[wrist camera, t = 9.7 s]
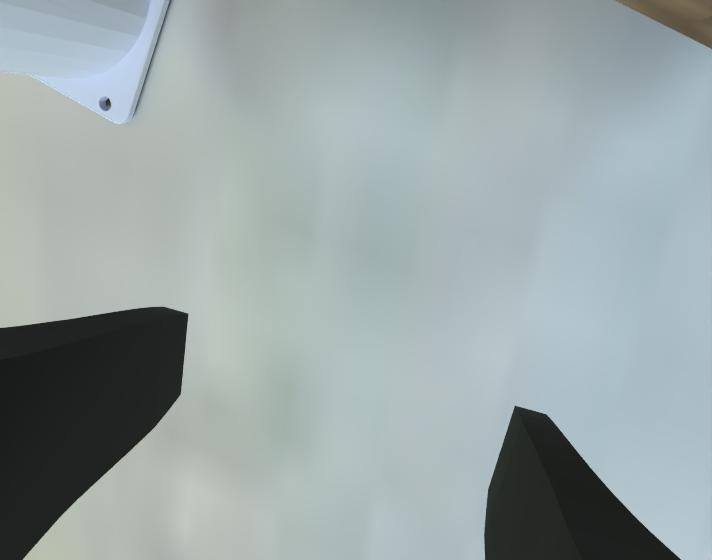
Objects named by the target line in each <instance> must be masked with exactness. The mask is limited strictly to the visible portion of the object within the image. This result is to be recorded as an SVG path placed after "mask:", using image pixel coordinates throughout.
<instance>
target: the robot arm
mask: <svg viewBox="0 0 712 560" xmlns="http://www.w3.org/2000/svg"><path fill="white" fill-rule="evenodd" d="M169 1H170V0H0V72H7V73H16V74H25V75H30V76H32V77H34V78H35V79H37V80H39V81H41V82H42V83H44V84H46V85H48V86H50V87H51V88H53V89H55V90H57V91H58V92H60V93H62V94H64V95H66V96H67V97H69V98H71V99H73V100H74V101H76V102H78V103H80V104H82V105H83V106H85V107H87V108H89V109H90V110H92V111H94V112H96V113H97V114H99V115H101V116H103V117H105V118H106V119H108V120H110V121H112V122H114V123H117V124H125V123H128V122H129V121H131V119H132V117H133V115H134V111H135V108H136V105H137V102H138V99H139V96H140V93H141V89H142V86H143V83H144V80H145V77H146V74H147V70H148V67H149V64H150V61H151V58H152V55H153V52H154V48H155V45H156V42H157V39H158V36H159V33H160V30H161V26H162V23H163V20H164V17H165V14H166V11H167V8H168V4H169ZM108 98H109V99H110V102H111V108H110V110H109V109H108V108H107V106H106V100H107V99H108ZM187 322H188V314H187V313H184V312H180V311H177V310H173V309H169V308H166V307H148V308H139V309H131V310H125V311H118V312H112V313H106V314H100V315H93V316H87V317H81V318H75V319H68V320H61V321H54V322H46V323H39V324H32V325H24V326H16V327H7V328H0V560H23V558H24V557H25V556H26V555H27V554H28V553H29V551H30V550H31V549H32V548H33V547H34V546H35V545H36V544H37V542H38V541H39V540H40V539H41V538H42V537H43V536H44V534H45V533H46V532H47V531H48V530H49V529H50V528H51V527H52V525H53V524H54V523H55V522H56V521H57V520H58V519H59V517H60V516H61V515H62V514H63V513H64V512H65V511H66V510H67V509H68V508H69V507H70V506H71V505H72V504H73V503H74V502H75V501H76V500H77V499H78V498H79V497H81V496H82V495H83V494H84V493H85V492H86V491H87V490H88V489H89V488H90V487H91V486H92V485H93V484H95V483H96V482H97V481H98V480H99V479H100V478H101V477H102V476H103V475H104V474H105V473H106V472H108V471H109V470H110V469H111V468H112V467H113V466H114V465H115V464H116V463H117V462H118V461H119V460H121V459H122V458H123V457H124V456H125V455H126V454H127V453H128V452H129V451H130V450H131V449H132V448H133V447H134V446H135V445H137V444H138V443H139V442H140V441H141V440H142V439H143V438H144V437H145V436H146V435H147V434H148V433H149V432H150V431H151V430H152V429H153V428H154V427H155V426H156V425H157V424H158V422H159V421H160V420H161V419H162V418H163V416H164V415H165V414H166V413H167V411H168V410H169V409H170V408H171V406H172V405H173V404H174V402H175V401H176V400H177V398H178V397H179V396H180V394H181V386H182V375H183V364H184V354H185V343H186V332H187ZM484 539H485V560H681V559H680V558H678V557H677V556H676V555H675V554H674V553H673V552H672V551H671V550H670V549H669V548H667V547H666V546H665V545H664V544H663V543H662V542H661V541H660V540H659V539H658V538H656V537H655V536H654V535H653V534H652V533H651V532H650V531H649V530H648V529H647V528H646V527H645V526H644V525H643V524H642V523H641V522H640V521H639V520H638V519H637V518H636V517H635V516H634V515H633V514H632V513H631V512H630V511H629V510H628V509H627V508H626V507H625V506H624V505H623V504H622V503H621V502H620V501H619V500H618V498H617V497H616V496H615V495H614V494H613V493H612V492H611V491H610V490H609V489H608V488H607V486H606V485H605V484H604V483H603V482H602V481H601V480H600V479H599V477H598V476H597V475H596V474H595V473H594V472H593V470H592V469H591V468H590V467H589V466H588V464H587V463H586V462H585V461H584V460H583V458H582V457H581V456H580V455H579V453H578V452H577V451H576V450H575V448H574V447H573V446H572V445H571V443H570V442H569V441H568V440H567V438H566V437H565V436H564V435H563V433H562V432H561V431H560V430H559V428H558V427H557V426H556V425H555V424H554V422H553V421H552V420H551V419H550V418H549V417H548V416H547V415H546V414H543V413H539V412H536V411H532V410H528V409H525V408H521V407H518V406H515V408H514V411H513V414H512V417H511V420H510V423H509V426H508V430H507V433H506V436H505V439H504V442H503V445H502V448H501V451H500V454H499V458H498V461H497V464H496V467H495V470H494V473H493V476H492V479H491V483H490V486H489V489H488V498H487V508H486V520H485V533H484Z"/></svg>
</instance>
